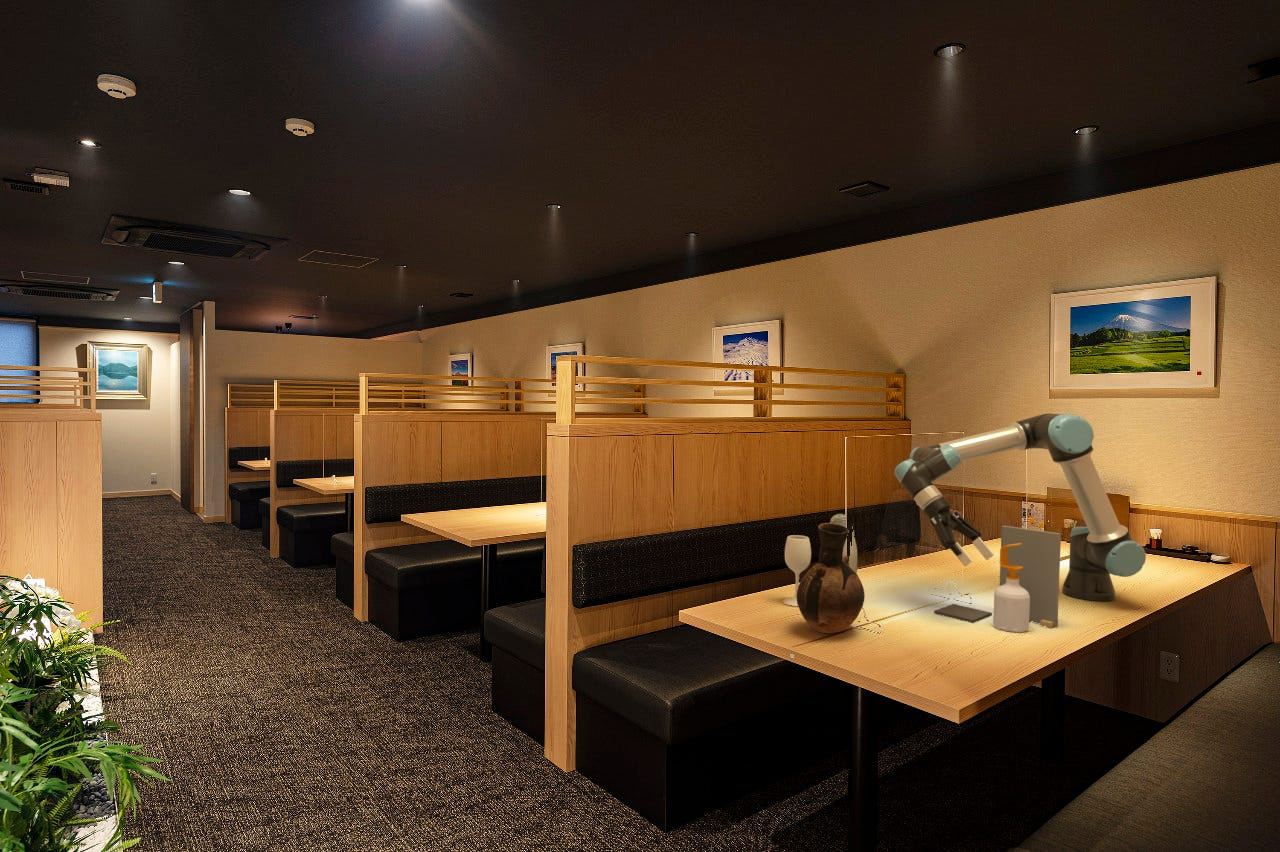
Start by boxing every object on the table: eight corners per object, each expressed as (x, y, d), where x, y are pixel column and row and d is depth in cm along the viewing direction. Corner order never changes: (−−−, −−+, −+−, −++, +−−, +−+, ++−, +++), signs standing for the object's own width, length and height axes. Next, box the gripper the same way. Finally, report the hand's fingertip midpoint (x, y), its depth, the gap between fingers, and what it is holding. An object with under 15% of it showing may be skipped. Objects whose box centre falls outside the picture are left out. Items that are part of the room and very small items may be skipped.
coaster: (953, 606, 234) (953, 603, 234) (991, 615, 224) (991, 612, 224) (933, 613, 226) (934, 610, 226) (973, 622, 217) (973, 620, 217)
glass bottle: (824, 595, 245) (826, 510, 243) (856, 598, 242) (858, 512, 240) (822, 603, 235) (824, 515, 234) (855, 606, 232) (858, 517, 231)
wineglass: (777, 602, 235) (778, 537, 234) (792, 597, 241) (794, 533, 240) (800, 608, 229) (802, 541, 228) (816, 603, 235) (817, 537, 234)
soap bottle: (1020, 635, 206) (1023, 547, 205) (987, 626, 213) (990, 541, 212) (1034, 628, 212) (1037, 543, 211) (1001, 621, 219) (1004, 538, 218)
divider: (1003, 612, 227) (1006, 525, 226) (1059, 625, 215) (1063, 532, 214) (996, 615, 224) (999, 526, 223) (1052, 628, 212) (1056, 534, 211)
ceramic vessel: (822, 616, 222) (825, 516, 220) (877, 629, 209) (879, 524, 208) (781, 631, 207) (784, 524, 206) (837, 647, 194) (840, 533, 193)
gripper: (944, 507, 239) (989, 562, 229) (903, 514, 223) (949, 573, 213) (961, 492, 235) (1008, 547, 224) (920, 499, 219) (968, 558, 208)
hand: (979, 560), depth 218 cm, fingers open, 13 cm apart
